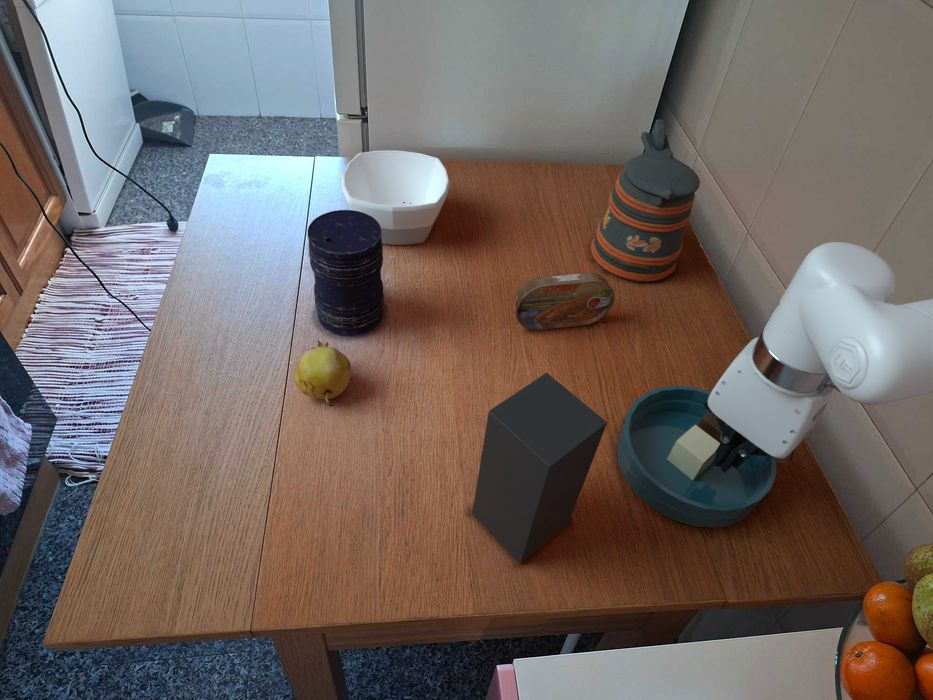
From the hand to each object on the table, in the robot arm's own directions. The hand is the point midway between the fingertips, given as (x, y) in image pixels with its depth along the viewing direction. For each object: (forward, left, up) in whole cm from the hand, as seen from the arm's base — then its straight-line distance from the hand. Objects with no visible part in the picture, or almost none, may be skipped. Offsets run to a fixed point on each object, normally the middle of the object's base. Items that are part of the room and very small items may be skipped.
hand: (725, 462), depth 77 cm
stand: (+12, +23, -4) cm, 26 cm away
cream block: (+4, +1, -4) cm, 5 cm away
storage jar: (+52, +19, -4) cm, 55 cm away
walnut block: (+4, -5, -4) cm, 7 cm away
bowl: (+66, 0, -4) cm, 66 cm away
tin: (+32, -5, -4) cm, 32 cm away
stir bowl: (+4, +1, -4) cm, 5 cm away
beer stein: (+37, -29, -4) cm, 47 cm away
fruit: (+42, +30, -4) cm, 51 cm away
